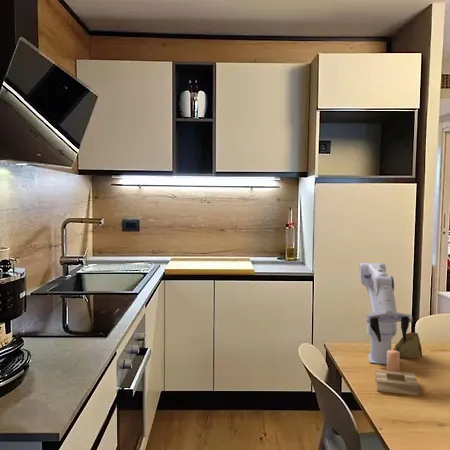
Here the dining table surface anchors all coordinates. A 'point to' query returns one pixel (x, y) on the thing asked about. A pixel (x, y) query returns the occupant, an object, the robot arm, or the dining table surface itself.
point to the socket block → (396, 382)
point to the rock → (409, 346)
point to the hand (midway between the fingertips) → (392, 340)
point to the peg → (393, 360)
